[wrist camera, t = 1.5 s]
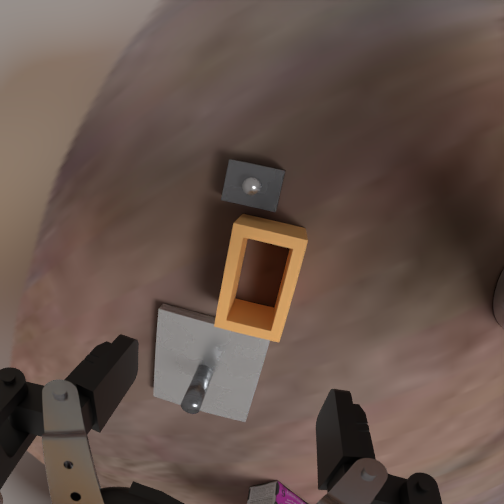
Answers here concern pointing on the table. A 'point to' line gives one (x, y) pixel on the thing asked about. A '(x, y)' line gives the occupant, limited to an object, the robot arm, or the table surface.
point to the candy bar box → (272, 494)
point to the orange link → (229, 308)
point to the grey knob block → (253, 185)
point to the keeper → (205, 364)
